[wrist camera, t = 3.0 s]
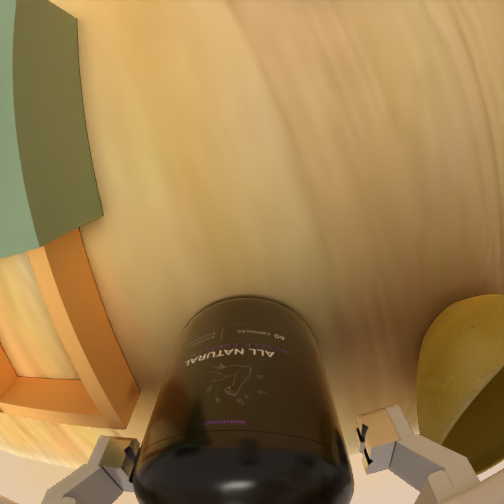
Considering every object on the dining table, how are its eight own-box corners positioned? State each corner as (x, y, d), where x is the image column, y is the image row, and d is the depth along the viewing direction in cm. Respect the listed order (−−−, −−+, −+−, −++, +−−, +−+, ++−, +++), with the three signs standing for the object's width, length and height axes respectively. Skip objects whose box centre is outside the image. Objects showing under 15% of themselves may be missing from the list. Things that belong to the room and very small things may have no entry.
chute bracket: (77, 221, 13) (41, 239, 10) (140, 392, 16) (125, 429, 13) (-41, 258, 13) (-71, 274, 11) (16, 386, 16) (-3, 411, 14)
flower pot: (379, 276, 14) (461, 366, 7) (520, 239, 13) (605, 283, 7) (375, 418, 17) (410, 506, 10) (495, 371, 16) (546, 430, 10)
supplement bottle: (245, 261, 14) (239, 577, 2) (341, 350, 15) (424, 571, 4) (151, 350, 15) (67, 569, 4) (246, 418, 17) (246, 612, 5)
